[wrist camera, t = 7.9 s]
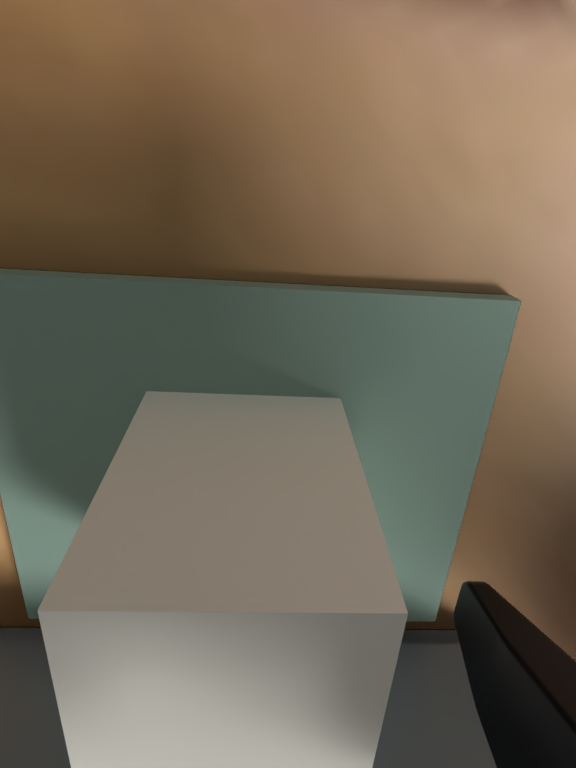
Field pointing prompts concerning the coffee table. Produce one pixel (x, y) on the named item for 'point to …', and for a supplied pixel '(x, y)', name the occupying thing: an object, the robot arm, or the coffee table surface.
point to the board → (246, 377)
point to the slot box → (397, 737)
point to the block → (226, 594)
